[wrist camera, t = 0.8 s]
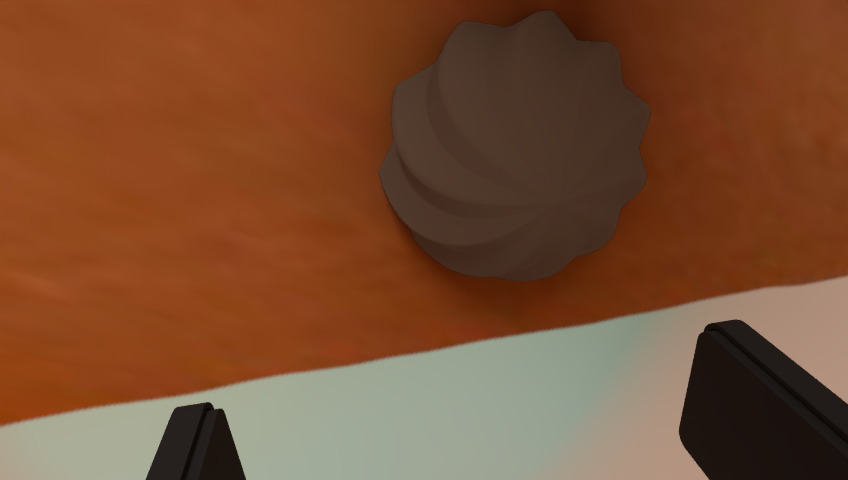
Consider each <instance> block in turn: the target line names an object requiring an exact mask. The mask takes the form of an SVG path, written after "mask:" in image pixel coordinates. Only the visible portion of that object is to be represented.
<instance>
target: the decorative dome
mask: <svg viewBox="0 0 848 480" xmlns="http://www.w3.org/2000/svg"><path fill="white" fill-rule="evenodd" d="M649 119H650V108H649V106H648V105H647V103H645V102H644V101H643V100H641V99H640V98H639V97H637V96H636V95H635V94H634V93H632V92H631V91H630V90H629V89H627V88H626V87H625V86H624V83H623V78H622V70H621V59H620V53H619V51H618V49H617V47H616V46H615V45H614V44H612V43H610V42H607V41H581V40H577V39H576V38H575V37H574V35H573V34H572V33H571V32H570V30H569V29H568V28H567V27H566V25H565V24H564V23H563V21H562V20H561V19H560V18H559V16H558V15H557V14H556V13H555V12H553V11H550V10H542V11H538V12H535V13H533V14H531V15H529V16H528V17H526V18H525V19H523V20H521V21H520V22H518V23H516V24H513V25H511V26H509V27H504V26H498V25H492V24H486V23H480V22H474V21H464V22H462V23H460V24H459V25H458V26H457V27H456V28H455V29H454V31H453V32H452V33H451V35H450V36H449V38H448V40H447V41H446V43H445V45H444V47H443V50H442V52H441V53H440V55H439V57H438V58H437V60H436V62H435V63H434V64H432V65H431V66H429V67H427V68H425V69H424V70H422V71H420V72H418V73H416V74H415V75H413V76H411V77H409V78H408V79H406V80H404V81H402V82H401V83H399V84H398V85H397V86H396V88H395V90H394V94H393V100H392V111H391V121H392V132H393V138H394V140H393V142H392V145H391V147H390V149H389V151H388V153H387V155H386V157H385V159H384V162H383V164H382V166H381V168H380V170H379V176H380V180H381V183H382V186H383V189H384V191H385V193H386V196H387V198H388V200H389V202H390V204H391V206H392V207H393V209H394V210H395V212H396V213H397V215H398V216H399V217H400V219H401V220H402V221H403V222H404V223H405V224H406V225H407V226H408V227H409V228H410V229H411V233H412V237H413V239H414V240H415V241H416V243H417V244H418V245H419V246H420V247H421V248H422V249H423V250H424V251H425V252H426V253H427V254H428V255H429V256H431V257H432V258H433V259H434V260H436V261H437V262H438V263H440V264H442V265H443V266H445V267H447V268H448V269H450V270H453V271H455V272H457V273H460V274H464V275H468V276H473V277H498V278H501V279H506V280H512V281H534V280H540V279H544V278H547V277H550V276H552V275H554V274H556V273H557V272H559V271H560V270H562V269H563V268H564V267H565V266H566V265H567V264H568V263H569V262H570V261H571V260H572V259H573V258H574V257H579V256H583V255H586V254H589V253H592V252H594V251H596V250H598V249H600V248H601V247H603V246H604V245H605V244H606V243H608V241H609V240H610V239H611V238H612V236H613V235H614V233H615V229H616V225H617V222H618V218H619V214H620V211H621V208H623V207H624V206H625V205H626V204H627V203H628V202H629V201H630V200H631V199H633V198H634V197H635V196H636V195H637V194H638V193H639V192H640V191H641V190H642V188H643V187H644V185H645V182H646V178H647V177H646V171H645V168H644V165H643V161H642V158H641V155H640V151H639V146H640V143H641V141H642V138H643V135H644V132H645V130H646V127H647V125H648V122H649Z"/></svg>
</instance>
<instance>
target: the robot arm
mask: <svg viewBox="0 0 848 480" xmlns="http://www.w3.org/2000/svg"><path fill="white" fill-rule="evenodd" d="M679 435H680V439H681V442H682V444H683V446H684V447H685V448H686V450H687V451H688V453H689V454H690V455H691V456H692V458H693V459H694V460H695V461H696V463H697V464H698V466H699V467H700V468H701V469H702V471H703V472H704V473H705V475H706V476H707V477H708V478H709V480H848V404H847V403H846V402H844V401H843V400H842V399H841V398H839V397H838V396H837V395H836V394H834V393H833V392H832V391H831V390H829V389H828V388H826V387H825V386H824V385H823V384H822V383H820V382H819V381H818V380H817V379H815V378H814V377H813V376H812V375H810V374H809V373H808V372H807V371H805V370H804V369H803V368H802V367H800V366H799V365H797V364H796V363H795V362H794V361H793V360H791V359H790V358H789V357H788V356H786V355H785V354H784V353H783V352H781V351H780V350H779V349H778V348H776V347H775V346H774V345H773V344H771V343H770V342H769V341H767V340H766V339H765V338H764V337H763V336H761V335H760V334H759V333H757V332H756V331H755V330H754V329H752V328H751V327H750V326H749V325H747V324H746V323H745V322H743V321H741V320H730V321H723V322H717V323H711V324H708V325H707V326H706V327H705V329H704V332H702V333H701V334H700V335H699V336H698V340H697V344H696V349H695V354H694V359H693V364H692V368H691V373H690V378H689V383H688V388H687V392H686V397H685V402H684V407H683V412H682V417H681V421H680V427H679ZM146 480H246V478H245V475H244V472H243V468H242V465H241V462H240V459H239V456H238V453H237V450H236V447H235V444H234V440H233V437H232V434H231V431H230V428H229V425H228V422H227V418H226V415H225V413H224V410H222V409H215V410H214V407H213V405H212V404H211V403H209V402H206V403H200V404H194V405H188V406H181V407H177V408H175V409H174V411H173V413H172V415H171V417H170V420H169V422H168V425H167V427H166V430H165V432H164V435H163V437H162V440H161V442H160V445H159V447H158V450H157V452H156V455H155V457H154V460H153V462H152V465H151V467H150V470H149V472H148V475H147V478H146Z"/></svg>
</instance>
